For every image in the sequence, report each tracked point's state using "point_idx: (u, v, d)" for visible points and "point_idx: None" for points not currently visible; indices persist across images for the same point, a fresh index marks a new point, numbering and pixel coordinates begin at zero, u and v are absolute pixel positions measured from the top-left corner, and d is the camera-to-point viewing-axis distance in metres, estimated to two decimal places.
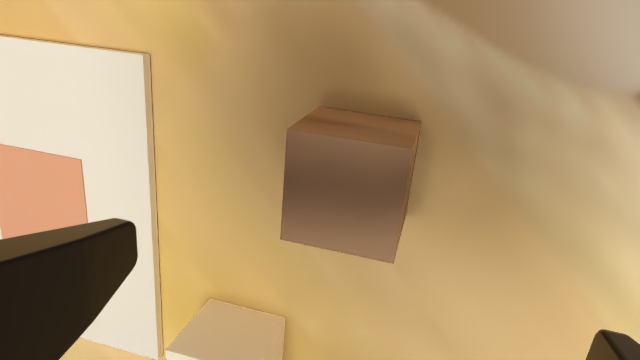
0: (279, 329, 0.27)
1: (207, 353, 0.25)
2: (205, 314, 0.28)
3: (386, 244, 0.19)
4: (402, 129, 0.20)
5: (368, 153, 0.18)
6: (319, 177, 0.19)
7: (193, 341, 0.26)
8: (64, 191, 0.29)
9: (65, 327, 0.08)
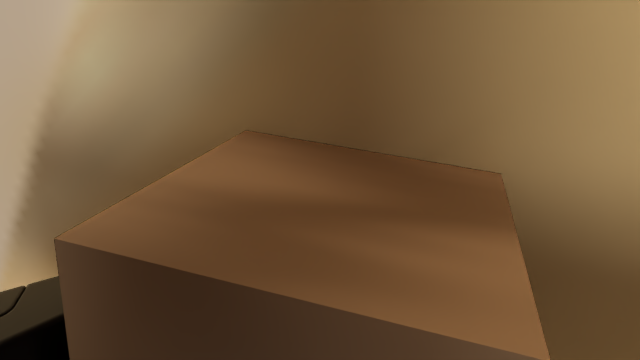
0: None
1: None
2: None
3: None
4: None
5: None
6: None
7: None
8: None
9: None
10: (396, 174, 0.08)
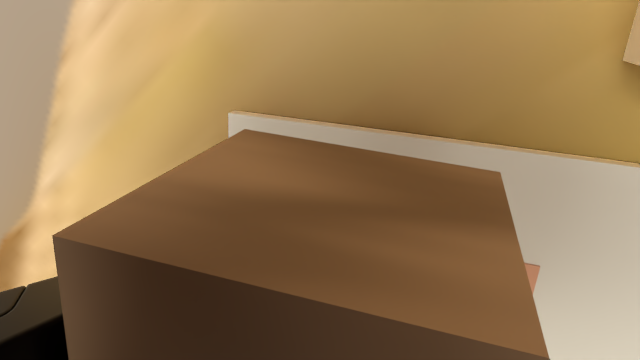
0: None
1: None
2: None
3: None
4: None
5: None
6: None
7: None
8: None
9: None
10: (395, 172, 0.08)
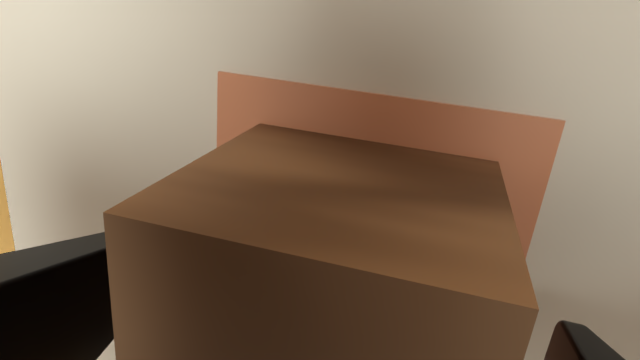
0: None
1: None
2: None
3: (446, 322, 0.05)
4: None
5: (141, 330, 0.06)
6: None
7: None
8: None
9: (95, 336, 0.08)
10: (401, 161, 0.09)
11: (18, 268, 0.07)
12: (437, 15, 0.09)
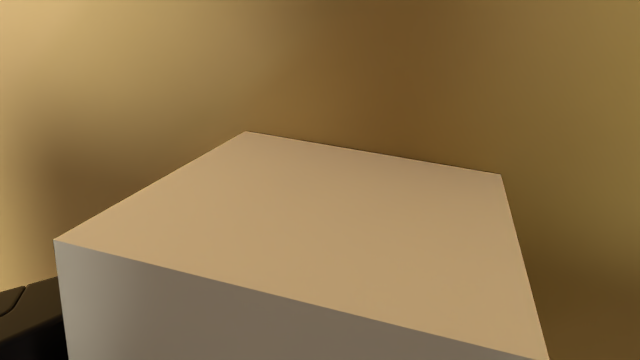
0: (225, 146, 0.09)
1: None
2: None
3: None
4: None
5: None
6: None
7: None
8: None
9: None
10: None
11: None
12: None
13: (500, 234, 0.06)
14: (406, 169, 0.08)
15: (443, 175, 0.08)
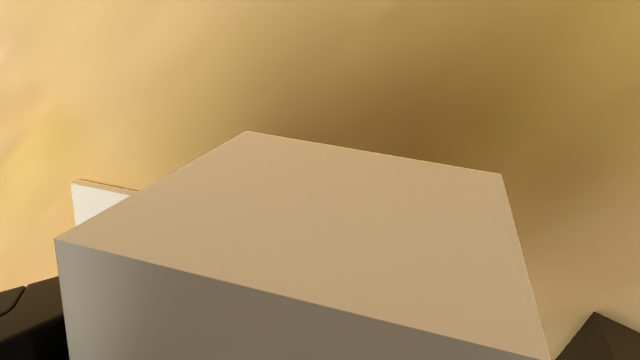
0: (226, 146, 0.09)
1: None
2: None
3: None
4: None
5: None
6: None
7: None
8: None
9: None
10: None
11: None
12: None
13: (501, 233, 0.06)
14: (407, 168, 0.08)
15: (443, 174, 0.08)
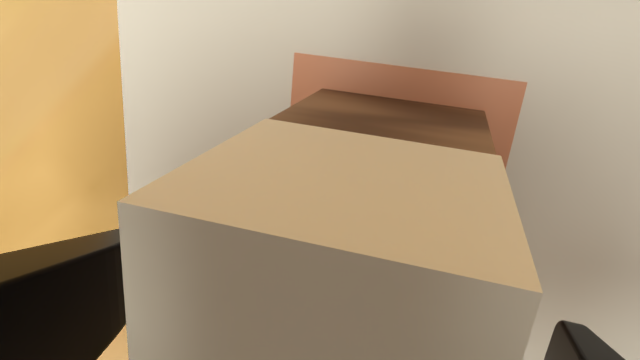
0: (250, 131, 0.09)
1: None
2: None
3: None
4: None
5: None
6: None
7: None
8: None
9: (95, 336, 0.08)
10: (421, 108, 0.13)
11: (18, 268, 0.07)
12: (444, 14, 0.13)
13: (501, 202, 0.07)
14: (415, 150, 0.09)
15: (448, 155, 0.09)
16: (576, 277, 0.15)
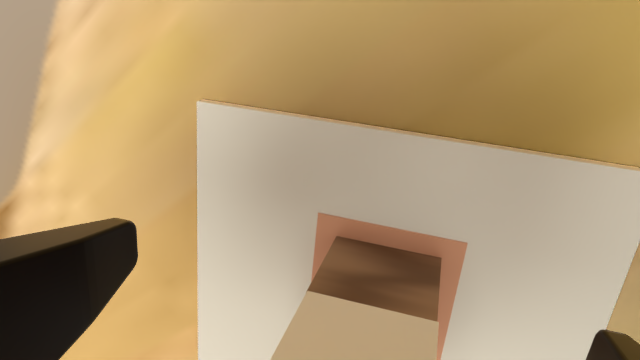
0: (301, 308, 0.17)
1: None
2: None
3: None
4: None
5: None
6: None
7: None
8: None
9: (65, 327, 0.08)
10: (400, 260, 0.21)
11: None
12: (415, 199, 0.21)
13: None
14: (391, 321, 0.17)
15: (409, 325, 0.17)
16: None
